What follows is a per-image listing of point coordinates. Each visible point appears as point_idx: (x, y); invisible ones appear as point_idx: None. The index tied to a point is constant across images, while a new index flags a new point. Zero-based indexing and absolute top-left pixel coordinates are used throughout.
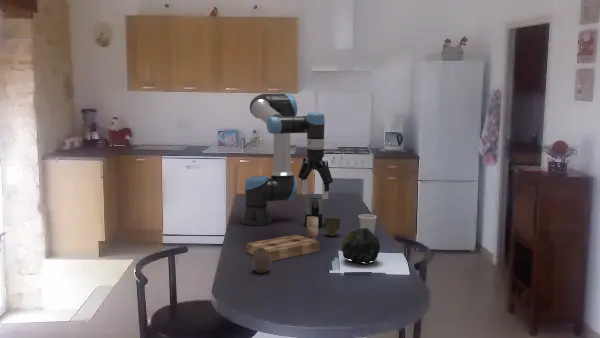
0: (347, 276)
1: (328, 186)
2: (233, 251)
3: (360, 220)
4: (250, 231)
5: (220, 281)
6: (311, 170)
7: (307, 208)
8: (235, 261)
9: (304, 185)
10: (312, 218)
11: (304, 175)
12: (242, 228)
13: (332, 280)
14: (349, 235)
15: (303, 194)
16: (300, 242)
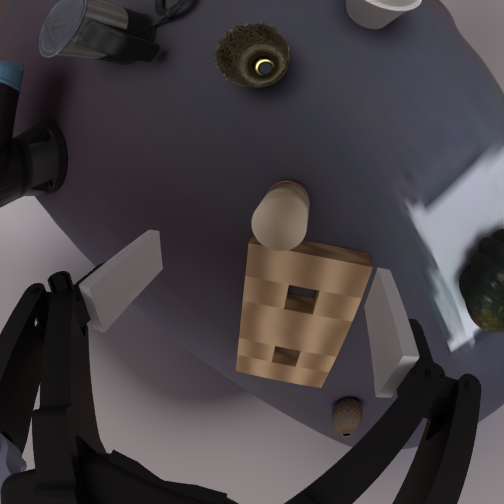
0: (481, 344)
1: (426, 356)
2: (216, 359)
3: (373, 8)
4: (94, 224)
5: (326, 434)
6: (72, 392)
7: (86, 55)
8: (273, 392)
9: (126, 293)
10: (291, 240)
11: (88, 366)
12: (71, 218)
13: (463, 369)
14: (496, 325)
15: (162, 266)
16: (330, 307)
